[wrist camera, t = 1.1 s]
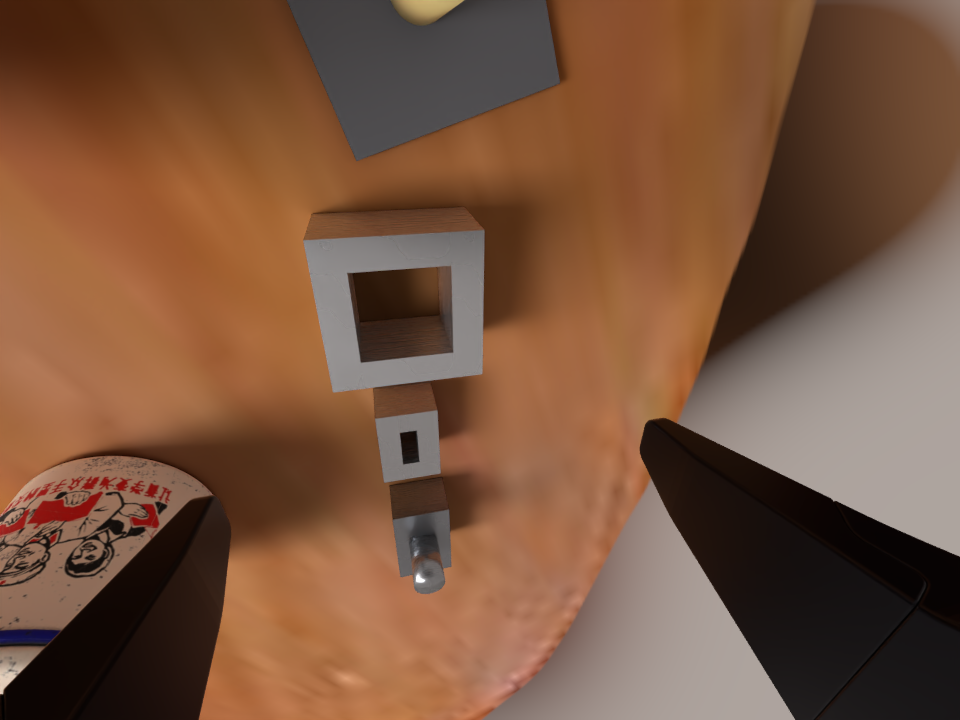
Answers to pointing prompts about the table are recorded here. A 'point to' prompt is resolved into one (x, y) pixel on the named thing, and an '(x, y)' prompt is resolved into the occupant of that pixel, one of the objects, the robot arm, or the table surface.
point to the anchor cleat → (422, 532)
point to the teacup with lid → (76, 542)
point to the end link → (408, 341)
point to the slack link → (407, 431)
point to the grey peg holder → (423, 62)
